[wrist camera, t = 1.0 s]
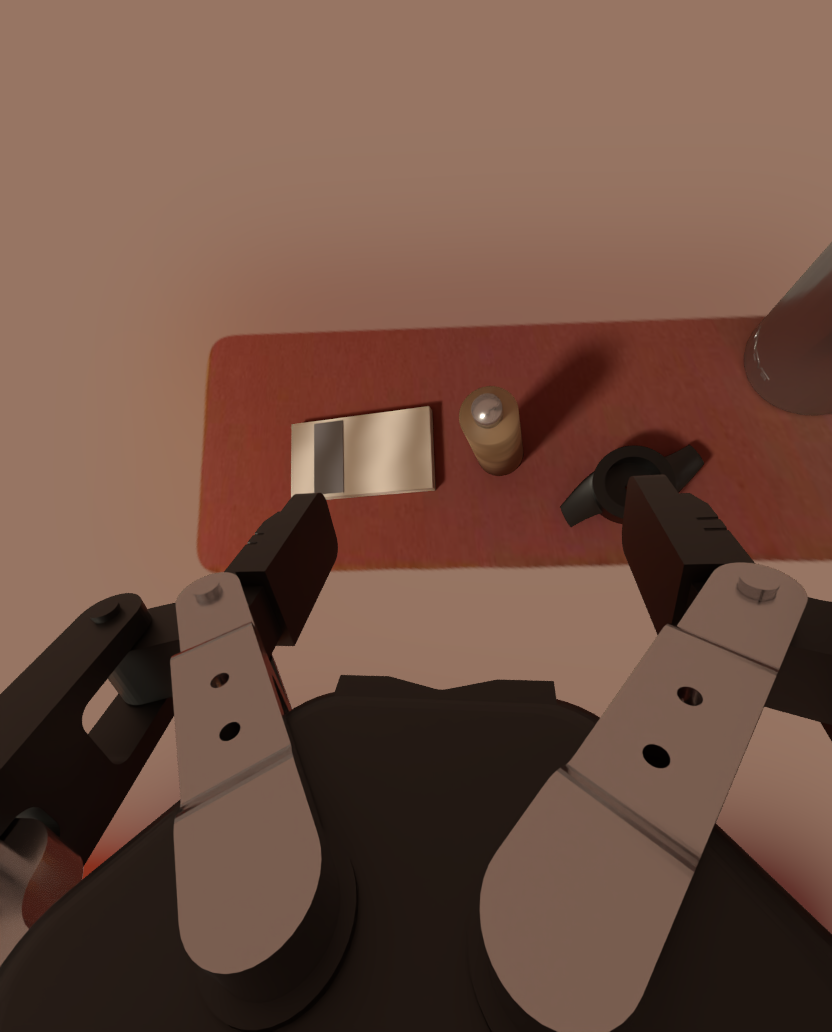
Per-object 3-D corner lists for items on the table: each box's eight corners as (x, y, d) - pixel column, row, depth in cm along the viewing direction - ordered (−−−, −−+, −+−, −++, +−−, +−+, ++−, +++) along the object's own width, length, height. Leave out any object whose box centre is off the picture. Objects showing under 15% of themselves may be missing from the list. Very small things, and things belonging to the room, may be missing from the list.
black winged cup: (568, 439, 39) (571, 428, 36) (699, 450, 36) (712, 439, 33) (556, 527, 38) (558, 523, 35) (688, 544, 35) (701, 542, 33)
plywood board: (432, 410, 42) (428, 405, 41) (435, 490, 41) (432, 487, 40) (297, 428, 46) (291, 424, 44) (297, 501, 44) (290, 499, 43)
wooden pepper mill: (521, 429, 40) (515, 374, 29) (524, 473, 39) (519, 434, 28) (476, 434, 41) (454, 383, 30) (478, 477, 40) (457, 441, 29)
